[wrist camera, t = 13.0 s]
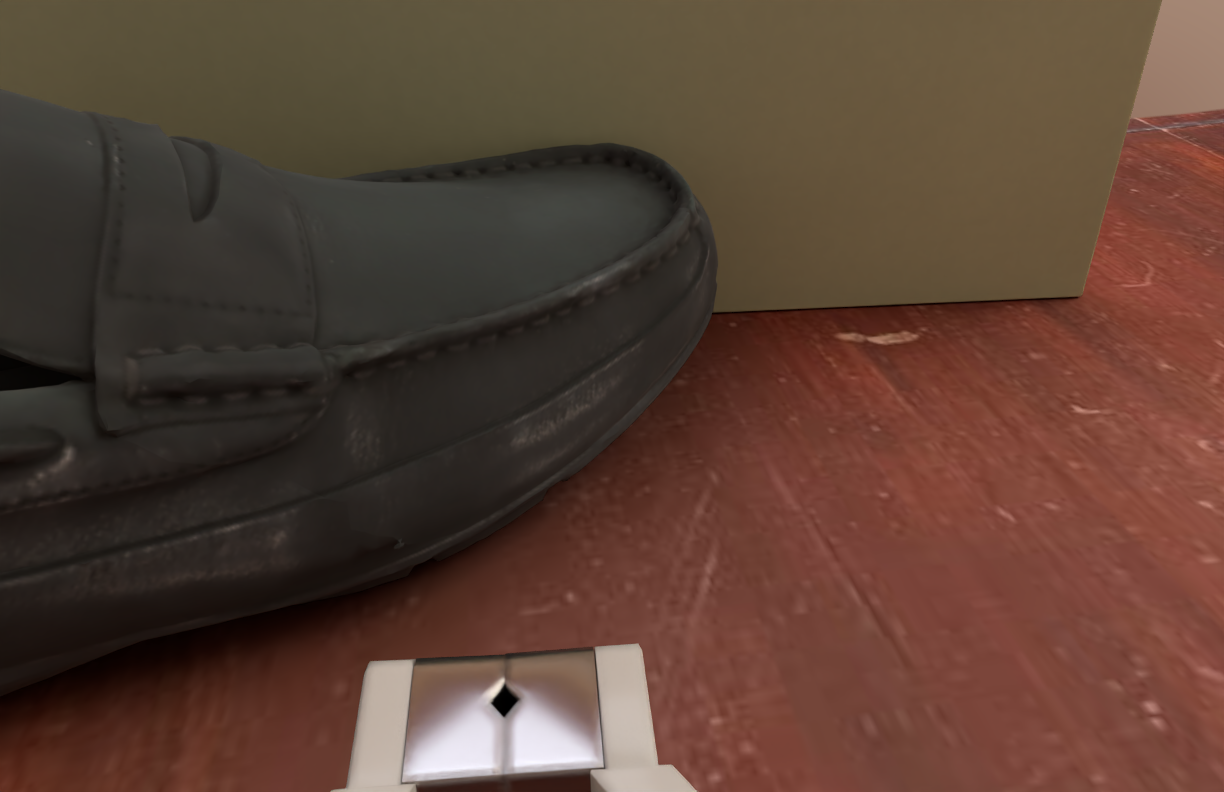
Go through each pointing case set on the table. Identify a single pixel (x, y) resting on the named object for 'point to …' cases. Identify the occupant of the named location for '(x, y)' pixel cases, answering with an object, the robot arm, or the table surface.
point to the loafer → (303, 365)
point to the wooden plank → (669, 114)
